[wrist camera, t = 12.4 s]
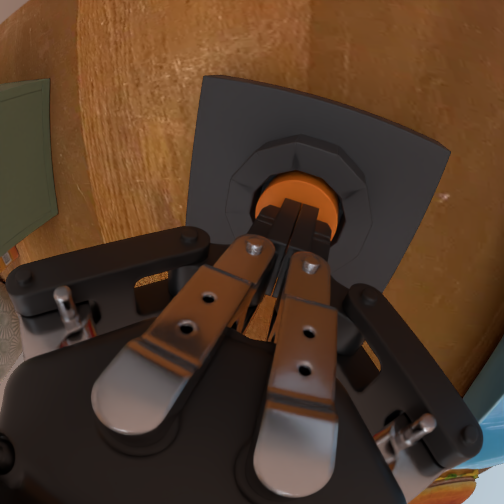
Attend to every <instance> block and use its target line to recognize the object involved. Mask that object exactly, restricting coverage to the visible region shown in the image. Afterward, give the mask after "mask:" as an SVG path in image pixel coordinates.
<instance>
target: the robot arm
mask: <svg viewBox="0 0 504 504" xmlns="http://www.w3.org/2000/svg"><path fill="white" fill-rule="evenodd" d="M301 204H302V203H300V202H297V201H294V200H291V199H288V198H285V200H284V202H283V204H282V206H281V208H279V207H276V206H273V205H268V206H266V207H264V208H262V210H261V211H260V213H259V215H258V216H257V218H256V220H255V221H254V223H253V224H252V226H251V227H250V229H249V231H248V232H247V234H243V235H240V236H238V237H237V238H236V239H235V240H234V241H233V242H232V244H228V245H224V244H214V243H210V236H209V234H208V233H207V232H206V231H204V230H202V229H200V228H198V227H193V226H182V227H177V228H172V229H168V230H163V231H158V232H154V233H149V234H145V235H140V236H136V237H131V238H127V239H123V240H118V241H114V242H110V243H106V244H101V245H97V246H93V247H89V248H85V249H81V250H77V251H73V252H69V253H65V254H61V255H57V256H53V257H49V258H46V259H42V260H38V261H34V262H31V263H27V264H23V265H21V266H19V267H17V268H15V269H14V270H13V271H12V272H11V273H10V274H9V275H8V277H7V279H6V282H5V287H6V290H7V292H8V294H9V297H10V299H11V301H12V303H13V305H14V310H15V312H16V314H17V316H18V318H19V324H20V334H21V342H22V350H23V357H24V362H23V363H22V364H20V365H19V366H18V367H17V368H16V369H15V370H14V371H13V373H12V374H11V376H10V378H9V379H8V381H7V384H6V387H5V390H4V396H3V402H2V408H1V412H0V504H408V503H409V502H410V501H411V500H413V499H414V498H415V497H416V496H418V495H419V494H420V493H421V492H422V491H423V490H425V489H426V488H427V487H428V486H429V485H430V484H431V483H433V482H434V481H435V480H436V479H437V478H438V477H439V476H440V475H441V474H442V473H444V472H446V471H448V470H450V469H452V468H454V467H456V466H458V465H460V464H462V463H464V462H466V461H467V460H469V459H471V458H473V457H475V456H476V455H477V454H478V453H479V452H480V451H481V449H482V446H483V432H482V429H481V426H480V425H479V423H478V421H477V420H476V418H475V417H474V415H473V414H472V412H471V411H470V409H469V408H468V406H467V405H466V403H465V402H464V400H463V399H462V398H461V396H460V395H459V393H458V392H457V390H456V389H455V388H454V386H453V385H452V383H451V382H450V381H449V379H448V378H447V376H446V375H445V374H444V372H443V371H442V369H441V368H440V367H439V365H438V364H437V363H436V361H435V360H434V359H433V357H432V356H431V355H430V353H429V352H428V351H427V349H426V348H425V347H424V345H423V344H422V343H421V342H420V340H419V339H418V338H417V336H416V335H415V334H414V333H413V331H412V330H411V329H410V327H409V326H408V325H407V324H406V322H405V321H404V320H403V319H402V317H401V316H400V315H399V314H398V312H397V311H396V310H395V309H394V308H393V306H392V305H391V304H390V303H389V302H388V300H387V299H386V298H385V297H384V295H383V294H382V293H381V292H380V291H379V290H377V289H376V288H374V287H372V286H370V285H368V284H364V283H356V284H354V285H352V286H351V287H350V289H349V288H347V287H345V286H343V285H342V284H340V283H339V282H337V281H336V280H335V279H334V278H333V277H332V276H331V269H330V266H329V264H328V257H329V249H330V241H331V233H332V230H331V228H330V227H329V225H328V223H325V222H322V221H319V220H317V217H318V213H319V208H316V207H313V206H310V205H307V204H304V203H303V205H302V208H301V211H300V214H299V210H300V207H301ZM298 214H299V217H298ZM297 217H298V220H297ZM296 220H297V223H296ZM295 224H296V226H295ZM294 227H295V229H294ZM293 230H294V231H293ZM292 233H293V234H292ZM291 236H292V237H291ZM290 239H291V240H290ZM289 242H290V243H289ZM288 245H289V246H288ZM287 248H288V249H287ZM286 251H287V252H286ZM285 254H286V255H285ZM284 257H285V258H284ZM283 260H284V261H283ZM282 262H283V265H282ZM281 265H282V268H281ZM280 268H281V271H280ZM165 271H168V279H165V280H161V281H158V282H154V283H151V284H147V285H144V286H140V287H137V288H134V286H135V284H136V282H137V281H138V280H140V279H141V278H144V277H147V276H151V275H154V274H158V273H162V272H165ZM279 271H280V274H279ZM278 274H279V277H278V280H277V283H276V286H275V289H274V292H273V295H272V297H275V298H277V300H276V303H275V306H274V308H273V311H272V314H271V318H270V322H269V327H268V331H267V335H266V339H265V341H259V340H253V339H250V338H248V337H246V336H245V335H244V334H245V333H246V331H247V329H248V327H249V325H250V323H251V321H252V319H253V317H254V316H255V314H256V312H257V310H258V307H259V304H260V303H261V302H262V300H263V297H264V295H265V294H266V295H269V296H270V295H271V293H272V290H273V287H274V285H275V282H276V279H277V276H278ZM364 341H366V342H367V343H368V345H369V346H370V348H371V349H372V351H373V352H374V353H375V355H376V356H377V358H378V359H379V361H380V365H381V370H380V372H379V370H378V369H377V367H376V366H375V364H374V363H373V361H372V360H371V358H370V357H369V355H368V354H367V353H366V351H365V350H364V348H363V347H362V344H363V342H364Z"/></svg>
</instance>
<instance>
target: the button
mask: <svg viewBox="0 0 504 504" xmlns="http://www.w3.org/2000/svg"><path fill="white" fill-rule="evenodd" d="M285 198H288V199H291V200H294V201H297V202H300V203H302V204H301V207H300V210H299V214H300V211H301V208H302V205H303V203H304V204H307V205H310V206H313V207H316V208H319V213H318V217H317V220H319V221H322V222H325V223H328V225H329V227H330V228H331V230H332V233H331V240H332V238H333V237H334V235H335V233H336V229H337V224H338V211H339V201H338V197H337V193H336V192H335V191H334V190H333V189H332V188H331V187H330V186H329V185H328V184H327V183H326V182H325V181H324V180H323V179H322V178H320V177H317V176H314V175H311V174H307V173H304V172H301V171H298V170H295V171H290V172H285V173H280V174H278V175H277V176H276V177H274V178H273V180H272V181H271V182H270V183H269V185H268V186H267V188H266V189H265V191H264V192H263V194H262V195H261V197H260V198H259V200H258V202H257V205H256V211H255V218H257V216H258V215H259V213H260V211H261V210H262V208H264V207H266V206H268V205H273V206H276V207H279V208H281V206H282V204H283V202H284V200H285ZM299 214H298V217H299ZM298 217H297V220H298ZM297 220H296V223H297ZM295 226H296V224H295ZM294 229H295V227H294ZM293 231H294V230H293ZM292 234H293V233H292ZM291 237H292V236H291ZM290 240H291V239H290ZM289 243H290V242H289ZM288 246H289V245H288ZM287 249H288V248H287ZM286 252H287V251H286Z"/></svg>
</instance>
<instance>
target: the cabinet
mask: <svg viewBox="0 0 504 504" xmlns="http://www.w3.org/2000/svg"><path fill="white" fill-rule="evenodd" d="M49 93H50V79H37V80H27V81H19V82H11V83H4V84H0V257H1V256H3V255H4V254H5V253H6V252H7V251H9V250H10V249H11V248H12V247H14V246H15V245H16V244H17V243H19V242H20V241H21V240H23V239H24V238H25V237H26V236H28V235H29V234H30V233H32V232H33V231H34V230H36V229H37V228H39V227H40V226H41V225H43V224H44V223H45V222H47V221H48V220H50V219H51V218H52V217H54V216H55V215H57V214H58V209H57V202H56V195H55V188H54V179H53V170H52V159H51V145H50V121H49Z"/></svg>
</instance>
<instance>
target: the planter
mask: <svg viewBox="0 0 504 504" xmlns="http://www.w3.org/2000/svg"><path fill="white" fill-rule="evenodd" d="M22 352H23V350H22V342H21V334H20V324H19V318H18V316H17V314H16V312H15V310H14V305H13V303H12V301H11V299H10V297H9V294H8V292H7V290H6V287H5V284H3V283H2V282H1V281H0V384H1V383H2V381H3V380H4V378H5V377H6V375H7V374H8V372H9V370H10V369H11V368H12V366H13V365H14V363H15V362H16V360H17V359H18V357H19V356H20V355H21V353H22Z"/></svg>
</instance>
